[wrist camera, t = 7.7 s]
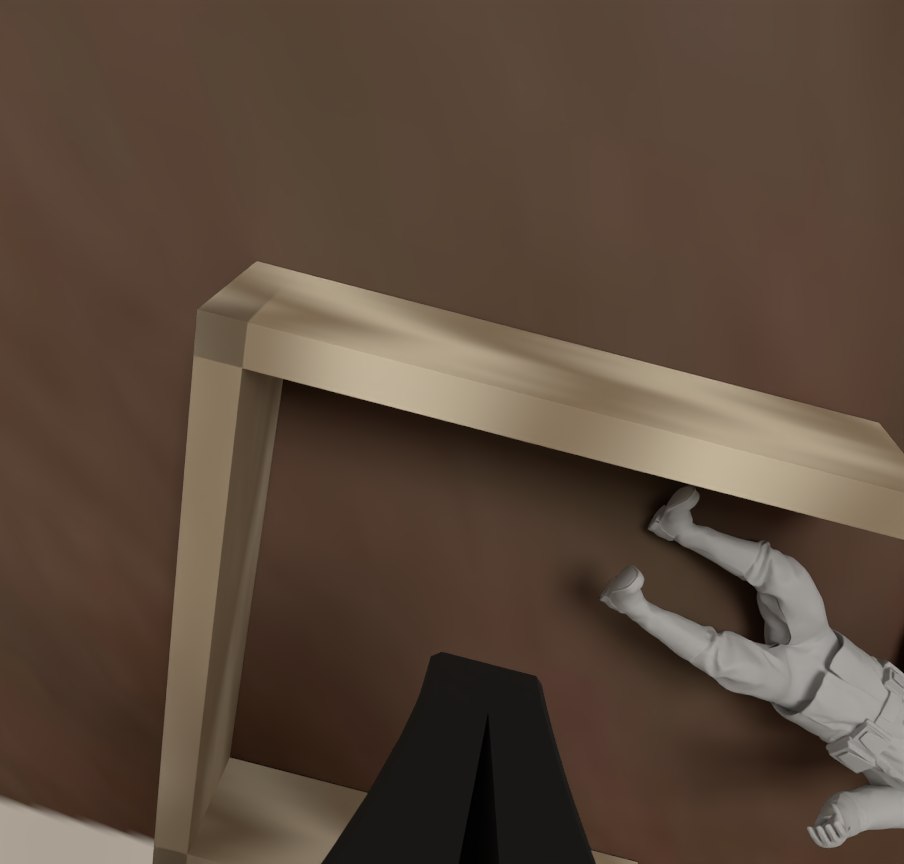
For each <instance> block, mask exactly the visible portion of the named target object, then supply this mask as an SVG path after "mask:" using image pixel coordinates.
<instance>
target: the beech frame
mask: <svg viewBox="0 0 904 864" xmlns="http://www.w3.org/2000/svg"><path fill="white" fill-rule="evenodd" d="M283 379H286V380H290V381H294V382H298V383H301V384H305V385H309V386H313V387H317V388H321V389H325V390H328V391H332V392H336V393H340V394H344V395H348V396H352V397H355V398H359V399H363V400H367V401H371V402H375V403H379V404H382V405H386V406H390V407H394V408H398V409H402V410H406V411H409V412H413V413H417V414H421V415H425V416H429V417H433V418H437V419H440V420H444V421H448V422H452V423H456V424H460V425H464V426H467V427H471V428H475V429H479V430H483V431H487V432H491V433H494V434H498V435H502V436H506V437H510V438H514V439H518V440H521V441H525V442H529V443H533V444H537V445H541V446H545V447H548V448H552V449H556V450H560V451H564V452H568V453H572V454H575V455H579V456H583V457H587V458H591V459H595V460H599V461H602V462H606V463H610V464H614V465H618V466H622V467H626V468H629V469H633V470H637V471H641V472H645V473H649V474H653V475H656V476H660V477H664V478H668V479H672V480H676V481H680V482H684V483H687V484H691V485H695V486H699V487H703V488H707V489H711V490H714V491H718V492H722V493H726V494H730V495H734V496H738V497H741V498H745V499H749V500H753V501H757V502H761V503H765V504H768V505H772V506H776V507H780V508H784V509H788V510H792V511H795V512H799V513H803V514H807V515H811V516H815V517H819V518H822V519H826V520H830V521H834V522H838V523H842V524H846V525H849V526H853V527H857V528H861V529H865V530H869V531H873V532H876V533H880V534H884V535H888V536H892V537H896V538H900V539H903V540H904V454H903V452H902V451H901V450H900V449H899V447H898V446H897V445H896V444H895V442H894V441H893V440H892V439H891V437H890V436H889V435H888V434H887V432H886V431H885V430H884V429H883V427H882V426H881V425H880V424H879V423H877V422H874V421H870V420H866V419H862V418H858V417H854V416H850V415H847V414H843V413H839V412H835V411H831V410H827V409H824V408H820V407H816V406H812V405H808V404H804V403H800V402H797V401H793V400H789V399H785V398H781V397H777V396H773V395H770V394H766V393H762V392H758V391H754V390H750V389H746V388H743V387H739V386H735V385H731V384H727V383H723V382H720V381H716V380H712V379H708V378H704V377H700V376H696V375H693V374H689V373H685V372H681V371H677V370H673V369H669V368H666V367H662V366H658V365H654V364H650V363H646V362H643V361H639V360H635V359H631V358H627V357H623V356H619V355H616V354H612V353H608V352H604V351H600V350H596V349H592V348H589V347H585V346H581V345H577V344H573V343H569V342H566V341H562V340H558V339H554V338H550V337H546V336H542V335H539V334H535V333H531V332H527V331H523V330H519V329H515V328H512V327H508V326H504V325H500V324H496V323H492V322H489V321H485V320H481V319H477V318H473V317H469V316H465V315H462V314H458V313H454V312H450V311H446V310H442V309H438V308H435V307H431V306H427V305H423V304H419V303H415V302H411V301H408V300H404V299H400V298H396V297H392V296H388V295H385V294H381V293H377V292H373V291H369V290H365V289H361V288H358V287H354V286H350V285H346V284H342V283H338V282H334V281H331V280H327V279H323V278H319V277H315V276H311V275H308V274H304V273H300V272H296V271H292V270H288V269H284V268H281V267H277V266H273V265H269V264H265V263H261V262H255V263H254V264H253V265H252V266H250V267H249V268H248V269H247V270H245V271H244V272H243V273H242V274H240V275H239V276H238V277H237V278H236V279H234V280H233V281H232V282H231V283H229V284H228V285H227V286H226V287H224V288H223V289H222V290H221V291H220V292H218V293H217V294H216V295H215V296H213V297H212V298H211V299H210V300H208V301H207V302H206V303H205V304H204V305H202V306H201V307H200V308H199V309H198V310H197V322H196V335H195V347H194V359H193V372H192V384H191V396H190V409H189V421H188V433H187V446H186V458H185V470H184V483H183V495H182V507H181V520H180V532H179V545H178V557H177V569H176V582H175V594H174V606H173V619H172V631H171V643H170V656H169V668H168V680H167V693H166V705H165V717H164V730H163V742H162V754H161V767H160V779H159V791H158V804H157V816H156V829H155V841H154V853H153V854H154V855H153V864H321V863H322V861H323V860H324V859H325V857H326V856H327V854H328V853H329V851H330V850H331V849H332V847H333V846H334V844H335V843H336V841H337V840H338V838H339V836H340V835H341V833H342V832H343V830H344V829H345V827H346V826H347V824H348V823H349V821H350V820H351V818H352V817H353V815H354V814H355V812H356V811H357V809H358V808H359V806H360V804H361V803H362V801H363V800H364V798H365V797H366V795H367V794H368V793H366V792H362V791H358V790H355V789H351V788H347V787H343V786H339V785H335V784H331V783H327V782H323V781H320V780H316V779H312V778H308V777H304V776H300V775H296V774H292V773H288V772H284V771H281V770H277V769H273V768H269V767H265V766H261V765H257V764H253V763H249V762H246V761H242V760H238V759H234V758H230V753H231V746H232V739H233V732H234V724H235V717H236V710H237V703H238V696H239V689H240V682H241V675H242V668H243V661H244V654H245V647H246V639H247V632H248V625H249V618H250V611H251V604H252V597H253V590H254V583H255V576H256V569H257V562H258V554H259V547H260V540H261V533H262V526H263V519H264V512H265V505H266V498H267V491H268V484H269V477H270V469H271V462H272V455H273V448H274V441H275V434H276V427H277V420H278V413H279V406H280V399H281V392H282V384H283ZM591 851H592V850H591ZM592 854H593V857H594V859H595V862H596V864H638V862H635V861H631V860H627V859H623V858H619V857H615V856H611V855H607V854H604V853H600V852H596V851H592Z"/></svg>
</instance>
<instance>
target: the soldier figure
mask: <svg viewBox="0 0 904 864" xmlns="http://www.w3.org/2000/svg"><path fill="white" fill-rule="evenodd" d="M699 497H700V496H699V493H698V491H696V489H695V487H693V486H686V487H683V488H681V489H679V490H678V491H676V492H675V493H674V495H673V496H672V497H671V499H670V500H669V502H668V504H667V506H665V505H663V506H662V507H661V508H660V509H659V510H658V511H657V512H656V514H655V515H654V517H653V518H652V520H651V522H650V523H649V526H648V530H650V531H652V532H654V533H655V534H656V535H657V536H659V537H662V538H664V539H666V540H668V541H673V539H674V540H675V541H677V542H678V543H679V544H681V545H682V546H684V547H686V548H689V549H691V550H693V551H695V552H697V553H698V554H700V555H702V556H704V557H705V558H707V559H709V560H711V561H713V562H715V563H716V564H718V565H720V566H721V567H722V568H724V569H725V570H727V571H729V572H730V573H732V574H734V575H735V576H738V577H739V578H740V579H742V580H746V581H748V582H749V583H750V584H751V585H753V586H754V588H755V589H756V590H757V591H758V592H757V602H758V606H759V610H760V613H761V615H762V617H763V619H764V620H765V625H764V638H765V644H766V645H765V644H761V643H756V642H752V641H751V640H748V639H746V638H744V637H742V636H741V635H738V634H736V633H734V632H731V631H721V632H719V633H717V632H716V631H715V630H714V628H713V627H711V626H701V625H699V624H697V623H695V622H693V621H691V620H688V619H686V618H684V617H682V616H680V615H678V614H675V613H672V612H669V611H666V610H663V609H661V608H659V607H657V606H655V605H653V604H651V603H649V602H648V601H646V599H645V598H644V597H643V594H642V592H641V590H640V588H641V587H642V585H643V582H644V577H643V575H642V574H641V572H640V571H639V570H638V569H637V568H636V567H635V566H633V565H630V566H627V567H626V568H624V569H623V570H622V571H621V573H620V574H619V576H618V577H617V576H615V577H614V578H612V579H611V580H610V581H609V582H608V584H607V586H606V587H605V589H604V591H603V592H602V594H601V596H600V600H601V601H603V602H605V603H606V604H607V605H608V606H609V607H610V608H612V609H615V610H617V611H619V612H620V613H625V614H627V615H628V616H629V617H630V618H631V619H632V620H633V621H635V622H637V623H638V624H639V625H640V626H641V627H642V628H643V629H645V630H646V631H647V632H649V633H650V634H652V635H653V636H655V637H656V638H657V639H659V640H660V641H661V642H663V643H664V644H665V645H666V646H668V647H669V648H670V649H671V650H672V651H673V652H675V653H676V654H677V655H679V656H680V657H682V658H683V659H685V660H688V661H689V662H690V663H691V664H692V665H694V666H696V667H697V668H699V669H700V670H702V671H704V672H705V673H707V674H708V675H709V676H711V677H713V678H714V679H715V680H716V681H717V682H718V683H719V684H720V685H722V686H723V687H724V688H726V689H727V690H729V691H732V692H735V693H740V694H745V695H752V696H754V697H757V698H760V699H763V700H766V701H770V703H771V704H772V705H773V707H774V708H775V710H776V711H777V712H778V713H779V714H780V715H781V716H783V717H784V718H786V719H788V720H790V721H792V722H794V723H796V724H798V725H799V726H801V727H802V728H804V729H806V730H807V731H809V732H811V733H812V734H815V735H817V736H819V737H820V739H822V740H823V741H825V742H827V743H828V744H827V746H826V750H827V751H829V755H830V756H832V757H833V758H835V759H836V760H838V761H839V762H840V763H842V764H843V765H845V766H846V767H848V768H849V769H851V770H852V771H854V772H855V773H859V772H863V773H864V775H865V776H866V777H867V779H868V781H869V783H870V785H865V786H861V787H859V788H856V789H852V790H850V791H841V792H838V793H836V794H834V795H832V796H831V797H830V798H829V799H828V800H827V801H826V803H825V804H824V805H823V806H822V808H821V809H820V813H819V816H818V818H817V820H816V821H815V824H814V828H812V827H808V828H807V830H808V832H809V834H810V835H811V837H812V839H813V840H814V842H815V843H816V844H817V845H818V846H821V847H824V848H832V847H837V846H840V845H841V844H842V843H843V842H844V841H845V840H846V838H848V837H851V836H855V835H857V834H858V833H859V832H862V831H865V830H869V829H872V830H876V829H887V828H904V674H903V673H902V672H901V671H900V670H899V669H898V668H896V667H895V666H894V665H893V664H892V663H890V662H889V661H886V660H884V659H882V658H878V659H876V658H874V657H873V656H869V655H868V654H866V653H865V652H864V651H863V650H861V649H860V648H858V647H857V646H855V645H854V644H853V643H852V642H851V641H850V640H848V639H847V638H846V637H845V636H843V635H842V634H840V633H839V632H837V631H835V630H832V629H831V628H830V627H829V625H828V622H827V617H826V613H825V608H824V603H823V600H822V598H821V595H820V593H819V592H818V590H817V588H816V586H815V584H814V582H813V580H812V578H811V577H810V575H809V573H808V572H807V571H806V569H805V568H804V567H803V566H801V565H800V564H799V563H798V562H797V561H796V560H795V559H794V558H792V557H790V556H787V555H783V554H782V553H781V552H780V551H778V550H775V549H772V548H771V547H770V543H769V542H768V541H765V540H762V541H759V542H753V541H748V540H744V539H740V538H736V537H733V536H730V535H727V534H724V533H721V532H718V531H715V530H713V529H711V528H709V527H705V526H700V525H696V524H694V523H692V522H693V519H692V516H691V513H690V509H691V508H693V507H694V506H695V505H696V504H697V502H698V501H699ZM782 613H783V614H784V615H783V614H782ZM787 623H788V624H787ZM789 630H790V631H789ZM790 633H791V640H790ZM789 640H790V641H789Z"/></svg>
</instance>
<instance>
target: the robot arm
mask: <svg viewBox="0 0 904 864" xmlns="http://www.w3.org/2000/svg"><path fill="white" fill-rule="evenodd" d="M321 864H596V862H595V859H594V857H593V854H592V851H591V848H590V846H589V843H588V840H587V837H586V834H585V831H584V829H583V826H582V823H581V820H580V817H579V814H578V812H577V809H576V806H575V803H574V800H573V797H572V794H571V791H570V788H569V785H568V782H567V778H566V775H565V772H564V768H563V765H562V762H561V758H560V755H559V752H558V748H557V745H556V741H555V738H554V734H553V730H552V727H551V723H550V719H549V715H548V711H547V707H546V702H545V698H544V693H543V689H542V685H541V683H540V682H539V680H538V678H537V677H536V676H533V675H530V674H526V673H522V672H518V671H514V670H510V669H506V668H502V667H499V666H495V665H491V664H487V663H483V662H479V661H475V660H471V659H467V658H464V657H460V656H456V655H452V654H448V653H444V652H440V653H438V654H436V655H433V656H431V658H430V662H429V665H428V668H427V672H426V675H425V679H424V682H423V686H422V689H421V692H420V695H419V698H418V700H417V702H416V705H415V707H414V709H413V711H412V713H411V715H410V718H409V720H408V722H407V724H406V726H405V728H404V730H403V732H402V734H401V736H400V738H399V740H398V741H397V743H396V745H395V747H394V748H393V750H392V752H391V754H390V756H389V757H388V759H387V761H386V763H385V764H384V766H383V768H382V770H381V772H380V773H379V775H378V777H377V779H376V780H375V782H374V784H373V785H372V787H371V789H370V790H369V792H368V794H367V795H366V797H365V798H364V800H363V801H362V803H361V804H360V806H359V808H358V809H357V811H356V812H355V814H354V815H353V817H352V818H351V820H350V821H349V823H348V824H347V826H346V827H345V829H344V830H343V832H342V833H341V835H340V836H339V838H338V840H337V841H336V843H335V844H334V846H333V847H332V849H331V850H330V851H329V853H328V854H327V856H326V857H325V859H324V860H323V861H322V863H321Z"/></svg>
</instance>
